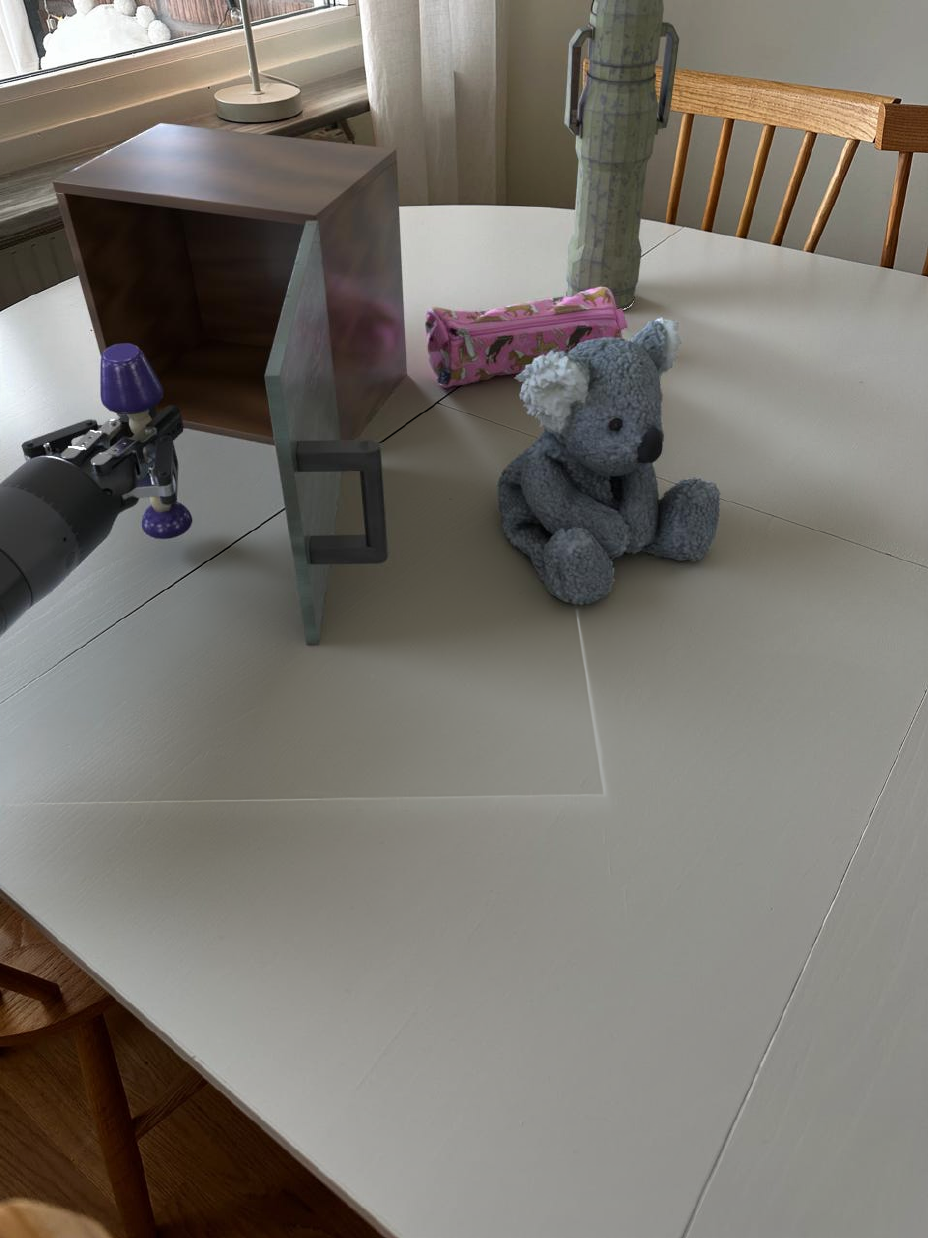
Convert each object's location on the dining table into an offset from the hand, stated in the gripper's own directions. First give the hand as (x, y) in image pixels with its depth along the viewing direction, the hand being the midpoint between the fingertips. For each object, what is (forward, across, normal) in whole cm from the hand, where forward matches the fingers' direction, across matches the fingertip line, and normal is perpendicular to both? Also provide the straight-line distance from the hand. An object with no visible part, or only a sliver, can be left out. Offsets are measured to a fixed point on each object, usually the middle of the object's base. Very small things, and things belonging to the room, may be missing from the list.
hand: (164, 413), depth 80 cm
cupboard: (+25, +5, +12) cm, 28 cm away
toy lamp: (-3, 0, +10) cm, 10 cm away
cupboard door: (+4, -15, +12) cm, 20 cm away
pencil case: (+38, -20, +12) cm, 45 cm away
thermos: (+60, -24, +12) cm, 65 cm away
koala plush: (+12, -34, +12) cm, 38 cm away
